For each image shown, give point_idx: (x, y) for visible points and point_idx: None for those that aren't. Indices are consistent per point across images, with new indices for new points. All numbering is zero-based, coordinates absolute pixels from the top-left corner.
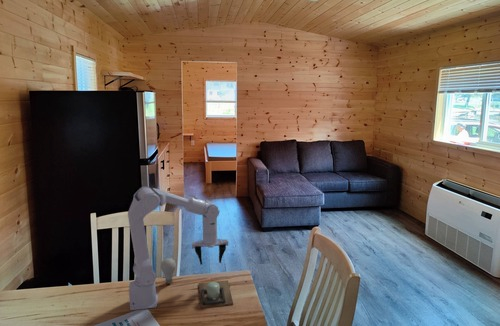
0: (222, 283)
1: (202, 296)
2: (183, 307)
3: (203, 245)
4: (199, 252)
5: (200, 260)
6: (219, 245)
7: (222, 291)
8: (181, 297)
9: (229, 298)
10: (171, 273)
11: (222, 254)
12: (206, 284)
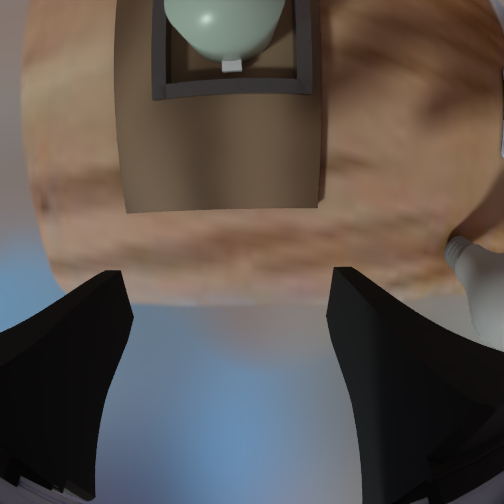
0: (158, 181)
1: (309, 16)
2: (406, 9)
3: None
4: (486, 377)
5: (375, 292)
6: (26, 482)
7: (159, 52)
8: (419, 96)
9: (129, 17)
10: (486, 258)
11: (20, 327)
12: (268, 183)
